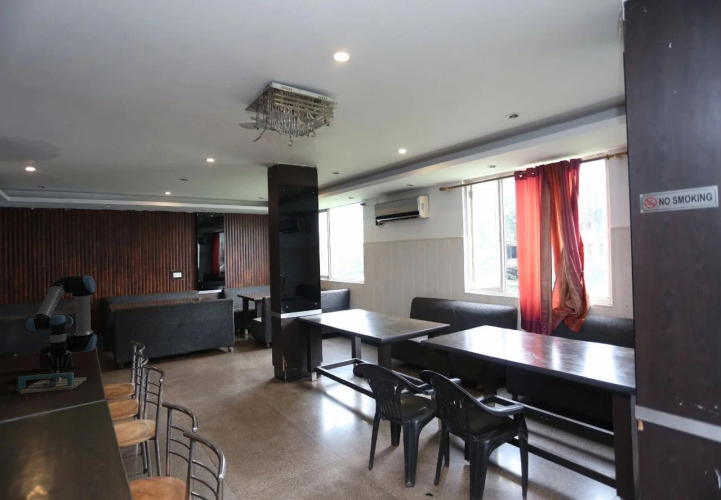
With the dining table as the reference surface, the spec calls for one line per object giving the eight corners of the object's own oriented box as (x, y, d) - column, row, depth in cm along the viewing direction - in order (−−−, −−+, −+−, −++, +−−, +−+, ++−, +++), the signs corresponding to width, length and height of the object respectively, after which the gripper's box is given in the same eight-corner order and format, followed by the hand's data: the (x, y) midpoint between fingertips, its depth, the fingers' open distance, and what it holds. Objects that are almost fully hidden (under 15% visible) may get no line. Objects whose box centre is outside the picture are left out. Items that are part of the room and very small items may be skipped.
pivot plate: (39, 383, 240) (39, 367, 240) (86, 379, 246) (86, 364, 247) (20, 393, 221) (20, 376, 221) (71, 389, 227) (72, 373, 227)
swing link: (50, 380, 238) (50, 375, 238) (59, 379, 240) (59, 374, 240) (47, 387, 225) (47, 381, 225) (57, 385, 228) (57, 380, 228)
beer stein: (67, 375, 256) (65, 344, 257) (53, 380, 245) (51, 348, 246) (45, 376, 257) (44, 346, 258) (30, 381, 247) (29, 349, 247)
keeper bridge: (20, 391, 225) (20, 376, 225) (73, 386, 232) (73, 372, 232) (17, 392, 223) (17, 377, 223) (71, 387, 230) (71, 373, 230)
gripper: (73, 339, 240) (74, 378, 239) (48, 341, 236) (49, 380, 236) (68, 341, 233) (68, 381, 232) (42, 343, 229) (43, 384, 228)
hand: (59, 381), depth 234 cm, fingers closed
